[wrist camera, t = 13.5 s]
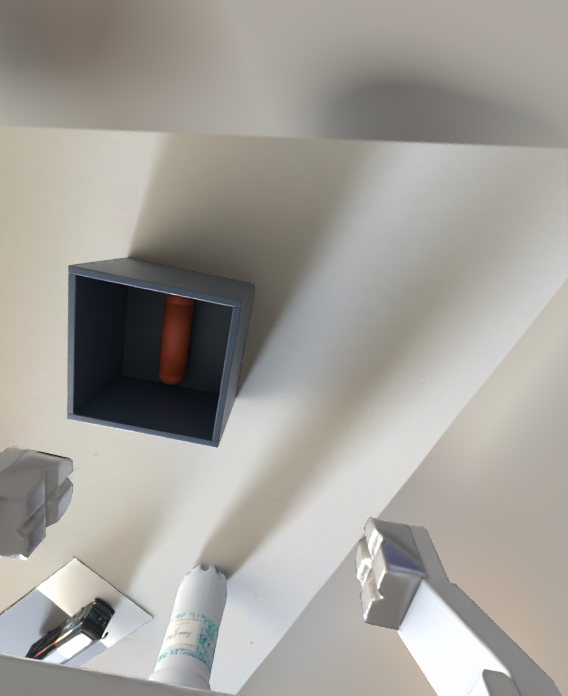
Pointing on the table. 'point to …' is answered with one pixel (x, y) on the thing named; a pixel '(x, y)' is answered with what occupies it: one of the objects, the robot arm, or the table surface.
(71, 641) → the shiny metal sheet
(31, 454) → the robot arm
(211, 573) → the bottle
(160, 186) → the table surface
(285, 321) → the table surface
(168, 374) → the orange round-ended cylinder
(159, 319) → the bin
